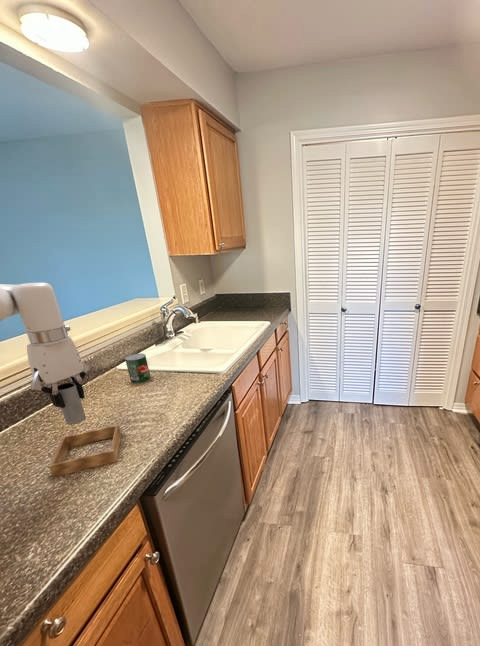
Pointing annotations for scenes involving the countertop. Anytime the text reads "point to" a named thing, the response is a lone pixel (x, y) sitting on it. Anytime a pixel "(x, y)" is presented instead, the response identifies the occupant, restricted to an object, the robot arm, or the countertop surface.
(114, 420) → the countertop surface
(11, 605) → the countertop surface
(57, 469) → the wooden square frame
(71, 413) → the planter
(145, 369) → the canned tomato
